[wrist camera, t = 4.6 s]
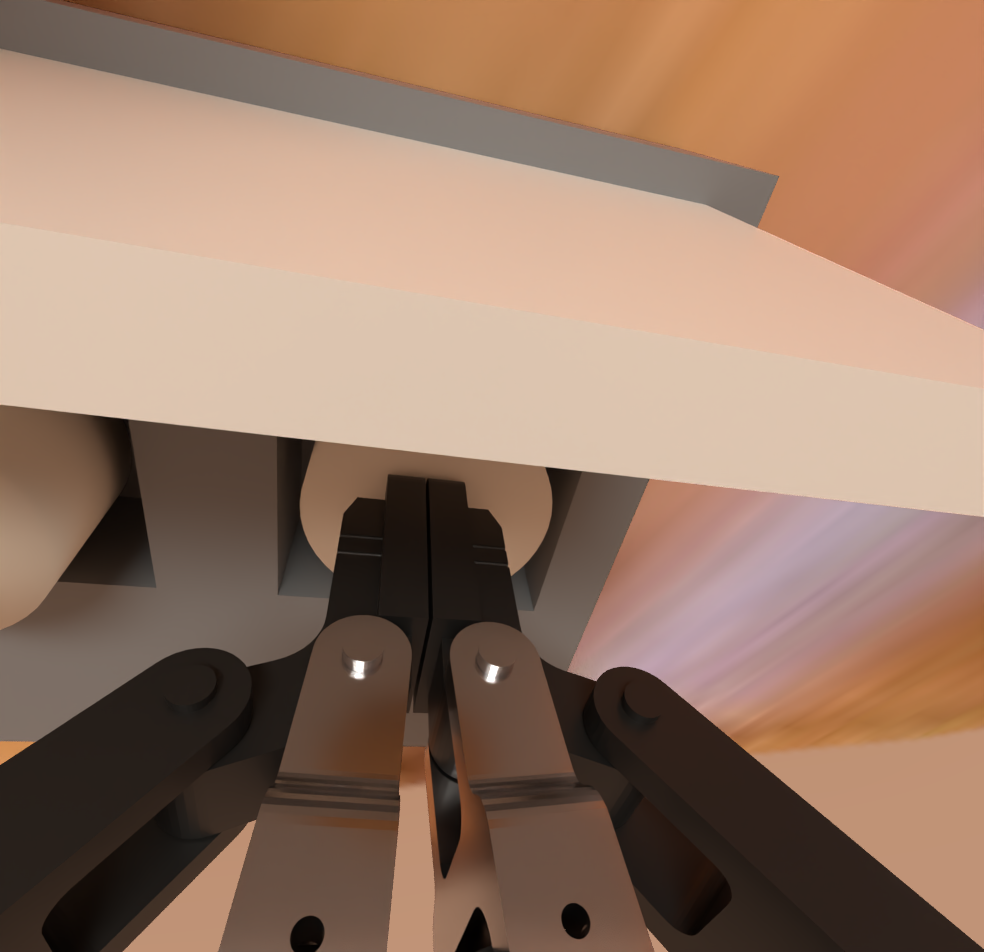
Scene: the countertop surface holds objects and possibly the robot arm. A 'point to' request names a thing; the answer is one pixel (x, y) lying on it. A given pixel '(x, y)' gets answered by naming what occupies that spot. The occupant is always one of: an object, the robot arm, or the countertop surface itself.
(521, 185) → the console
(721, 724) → the countertop surface
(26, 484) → the button middle
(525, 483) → the button
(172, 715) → the robot arm
